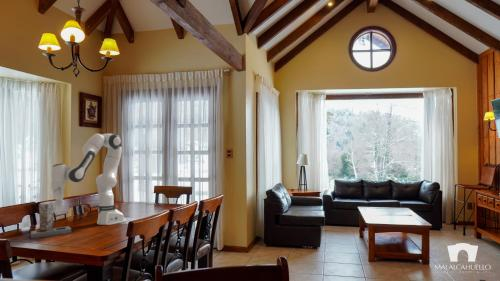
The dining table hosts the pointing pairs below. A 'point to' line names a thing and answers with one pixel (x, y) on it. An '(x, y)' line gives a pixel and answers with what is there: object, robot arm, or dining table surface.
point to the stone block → (46, 215)
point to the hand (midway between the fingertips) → (58, 205)
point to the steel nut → (56, 208)
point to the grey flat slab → (50, 232)
